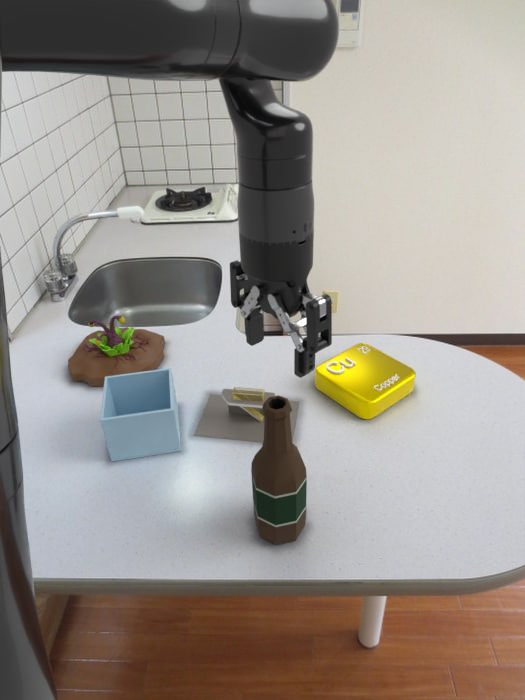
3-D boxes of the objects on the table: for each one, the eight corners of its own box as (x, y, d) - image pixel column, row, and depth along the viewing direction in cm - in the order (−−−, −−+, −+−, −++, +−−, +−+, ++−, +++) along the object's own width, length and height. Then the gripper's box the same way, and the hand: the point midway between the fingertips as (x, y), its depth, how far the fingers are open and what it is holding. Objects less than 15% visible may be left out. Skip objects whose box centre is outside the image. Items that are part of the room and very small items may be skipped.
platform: (291, 445, 93) (291, 417, 89) (193, 435, 96) (189, 408, 92) (299, 401, 102) (299, 374, 99) (210, 393, 105) (207, 367, 101)
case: (180, 451, 92) (173, 410, 87) (111, 461, 91) (99, 420, 85) (177, 407, 102) (171, 367, 97) (115, 416, 101) (104, 376, 95)
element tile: (366, 423, 97) (368, 403, 94) (310, 385, 106) (310, 366, 104) (417, 389, 104) (420, 369, 101) (360, 356, 114) (362, 338, 111)
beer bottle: (303, 549, 75) (305, 426, 62) (250, 543, 77) (240, 421, 63) (308, 506, 82) (310, 385, 68) (258, 500, 83) (251, 381, 69)
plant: (146, 391, 107) (137, 345, 100) (57, 384, 109) (42, 339, 103) (175, 337, 123) (168, 295, 116) (96, 332, 126) (86, 291, 119)
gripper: (204, 216, 55) (217, 344, 64) (297, 257, 46) (296, 400, 55) (259, 199, 59) (264, 322, 68) (355, 234, 50) (345, 371, 59)
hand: (278, 357), depth 61 cm, fingers open, 8 cm apart
